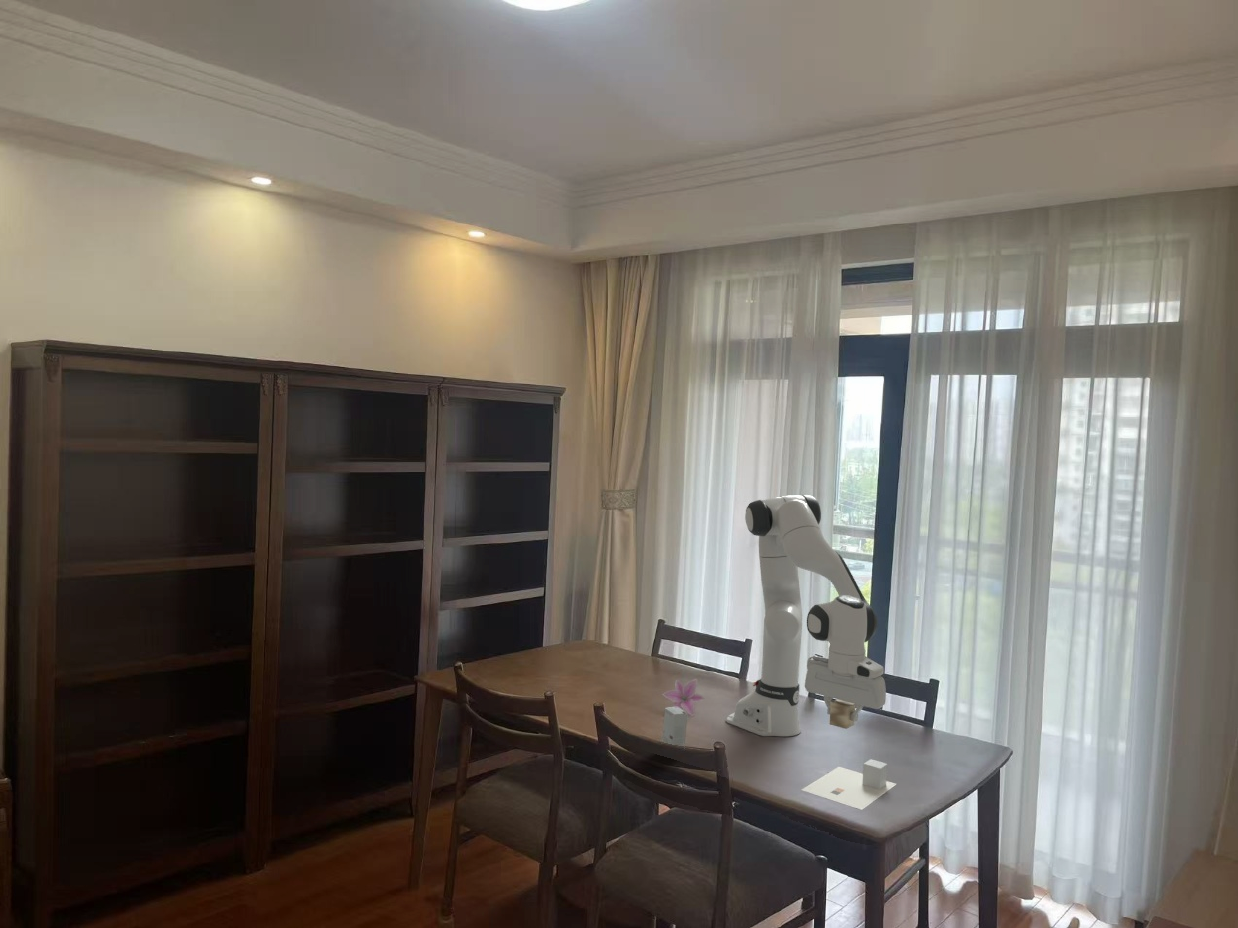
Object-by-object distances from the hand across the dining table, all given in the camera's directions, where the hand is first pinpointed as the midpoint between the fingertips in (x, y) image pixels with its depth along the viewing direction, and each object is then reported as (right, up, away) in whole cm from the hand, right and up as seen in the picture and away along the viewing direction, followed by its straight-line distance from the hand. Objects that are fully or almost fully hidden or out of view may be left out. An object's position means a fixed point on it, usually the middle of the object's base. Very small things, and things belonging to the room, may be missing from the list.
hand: (842, 717), depth 219 cm
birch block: (0, -2, 0) cm, 2 cm away
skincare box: (-41, -16, +21) cm, 49 cm away
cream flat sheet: (+3, -19, +4) cm, 20 cm away
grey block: (+10, -19, +6) cm, 22 cm away
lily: (-35, -15, +59) cm, 70 cm away
